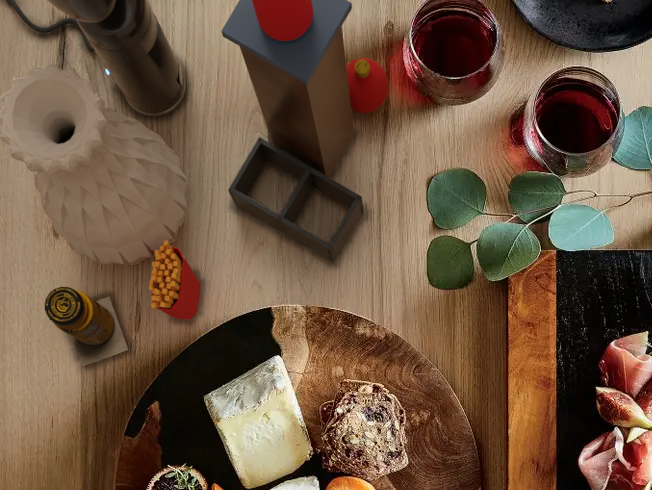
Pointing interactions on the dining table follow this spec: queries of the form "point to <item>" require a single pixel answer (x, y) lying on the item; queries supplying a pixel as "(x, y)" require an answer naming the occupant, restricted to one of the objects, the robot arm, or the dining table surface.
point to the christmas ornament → (366, 85)
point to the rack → (295, 198)
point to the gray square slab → (293, 54)
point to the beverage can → (284, 17)
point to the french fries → (174, 284)
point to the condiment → (86, 323)
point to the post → (307, 108)
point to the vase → (94, 167)
